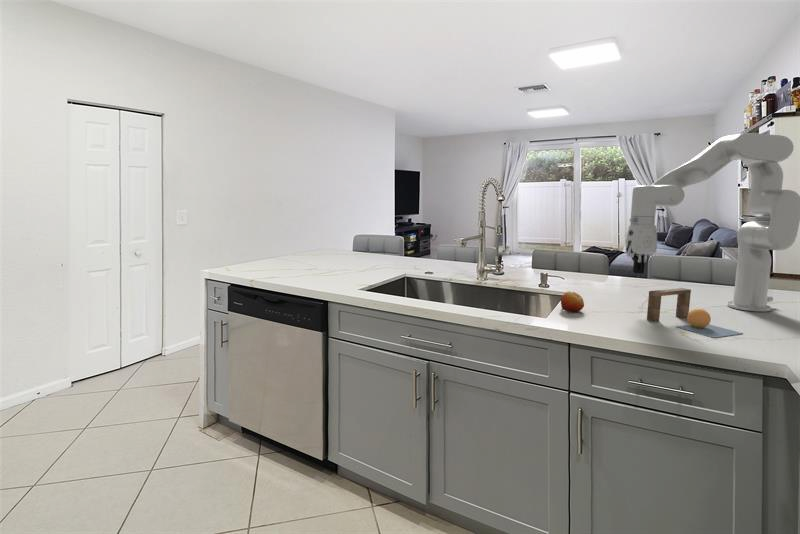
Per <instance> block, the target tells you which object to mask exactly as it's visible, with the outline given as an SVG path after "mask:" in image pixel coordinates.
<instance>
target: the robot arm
mask: <svg viewBox="0 0 800 534" xmlns="http://www.w3.org/2000/svg"><path fill="white" fill-rule="evenodd" d="M793 152H794V142H793V141H792V140H791V139H790V138H789V137H787V136H785V135H780V134H768V133H758V132H757V133H756V132H741V133H736V134H735V133H734V134H731V135H730V134H729V135H726V136H722V137H721V138H718V139H717V140H715V141H714V142H713V143H712V144H710V145H709V146H708V147H707V148H705V149H704V150H703V151H702V152H700V153H699V154H697V155H696V156H695V157H693V158H692V159H691V160H689V161H688V162H686V163H684V164H681V166H679V167H677V168H674V169H672V170H671V171H669V172H667V173H665V174H664V175H662V176H661V177H660V178H658V179H657V180H656V181H654V182H653V183H652V184H651V185H650V184H649V185H636V186H634V187H633V189H632V197H631V208H630V209H631V210H630V219H629V224H630V225H628V226H629V227H628V230H627V233H626V239H625V251H626V253H627V254H626V257H627V258H631V260H632V262H633V267H632V268H633V269H632V273H633V274H637V275H638V274H639V275H640V274H644V273H645V265H646V264H645V263H646V262H647V259H648V258H650V257H652V256H653V254H655V253H656V252H657V248H658V232H657V229H658V228H657V225H656V224H655V223H656V212H657V211H656V210H657V207H662V208H663V207H664V208H673V207H676V206H678V205H680V204H681V203H682V202H683V201H684V199H685V191H684V188H686V187H689V186H692V185H696V184H699V183H702V182H704V181H706V180H708V179H710V178H712V177H713V176H714V175H715V174H717V173H718V172H720V170H722V169H723V168H724V167H726V166H727V165H728V164H729V163H731V162H733V161H737V160H739V161H740V160H741V162H743V164H744V165H745V166H746V167H747V168H748V169H749V171H750V173H751V184H750V191H749V194H748V195H749V197H748V201H747V212H748V213H749V214H750V215H751V216H753V217H755V218H756V217H757V218H767V219H768V218H769V219H770V221H766V220H764V221H763V220H751V221H748V222H745V223H743V224H742V225H740V227H739V229H738V231H737V232H736V241H737V250H738V254H737V265H736V272H735V281H734V282H735V283H734V290H733V291H734V292H733V299H732V301H728V302H727V306H728V307H729V308H731V309H737V310H742V311H747V312H748V311H749V312H759V313H765V312H770V311H771V310H772V307H771V306H770V305H768V304H767V303H771V302H773V301H774V298H773V297H772V296H768V292H769V291H768V290H769V284H770V283H769V282H770V276H771V267H772V255H771V253H770V251H784V250H788V249H789V248H791V247H792V246H793V244H794V243H795V241H796V239H797V236H798V232H799V226H800V195H799V193H798V192H796V191H794V190H791V189H783V182H784V171H783V168H782V166H781V165H780V164H779V163H780V162H783V161H785V160H787V159H789V157H790V156H791V155H792V153H793Z"/></svg>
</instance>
